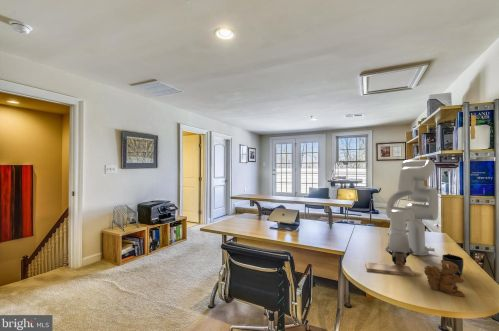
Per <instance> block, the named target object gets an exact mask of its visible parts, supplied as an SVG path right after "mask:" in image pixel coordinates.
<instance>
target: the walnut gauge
mask: <svg viewBox="0 0 499 331" xmlns="http://www.w3.org/2000/svg"><path fill="white" fill-rule="evenodd" d="M395 257H396V264H394V265H401V266H402V267H404V266H405V265H404V254H403V252H395Z"/></svg>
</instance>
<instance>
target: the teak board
mask: <svg viewBox="0 0 499 331" xmlns="http://www.w3.org/2000/svg"><path fill="white" fill-rule="evenodd" d="M364 263H365V264H364V265H365V266H364V267H365V269H366V272H372V273H380V272H384V273H383V274H390V273H392V274H391V275H399V276H409V277H414V276H415V273H414V271H413V270H412V268H411V267H410V265H404V267H402V266H401V265H395V264H390V263H389V264H388V263H382V262H380V263H379V262H371V261H369V262H368V261H365V262H364Z"/></svg>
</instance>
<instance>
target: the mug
mask: <svg viewBox="0 0 499 331" xmlns="http://www.w3.org/2000/svg"><path fill="white" fill-rule="evenodd" d="M441 258H442V259H441V260H444V261H450V262H453V263H454V264H456V265H457V266H458V269H459V271H458V272H456V273H454V274H455V275H458V276H459V277H462V273H463V271H464V258H463V257H461V256H459V255H455V254H451V253H447V254H443V255H442V257H441ZM459 272H460V273H459Z"/></svg>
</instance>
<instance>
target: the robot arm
mask: <svg viewBox="0 0 499 331" xmlns="http://www.w3.org/2000/svg"><path fill="white" fill-rule="evenodd" d="M434 170H435V163H434V161H433V160H431V159H408V160H404V161H402V163H401V169H400V172H399V176H398V177H399V178H398V184H397V189H396V191H394V193H392V194H391V196H390V197H389V198H388V200H387V203H386V212H385V215H386V218H388V219H389V222H390V224H389V225H390V227H389V228H390V232H389V233H388V237H387V238H388V239H387V246H386V247H385V248H384V251H385V252H386V253H388V254H389V255H390V256H391V262H393V265H395V264H396V257H395V252H403V254H404V266H406V264H407V259H408V257H409V256H410V255H414V256H428V255H429V254H430V253H429V252H436V250H435V247H433V248H432V247H431V246H430V247H429V246H426V232H425V231H426V230H425V229H426V228H425V224H424V222H423V221H422V220H426V221H436V220H438V218H439V191H438V190H437V189H436V188H434V187H429V186H428V187H426V186H425V181H428V179H430V177H431V175H432V174H433V172H434ZM405 197H407V198H408V200H409V201H412V203H407V204H405V206H404V207H399V206H395V204H396V202H398V200H400V199H402V198H405ZM413 202H417V203H413ZM422 203H423V204H422ZM424 203H427V204H424Z"/></svg>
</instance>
